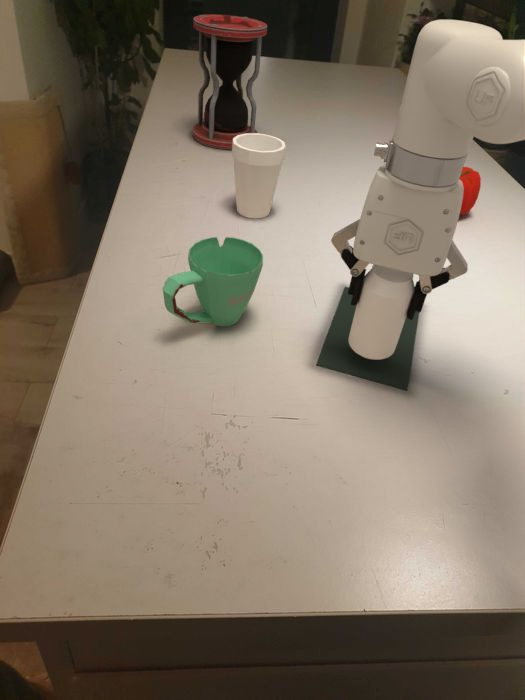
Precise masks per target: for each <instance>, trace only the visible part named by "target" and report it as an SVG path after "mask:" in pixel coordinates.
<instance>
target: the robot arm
mask: <svg viewBox="0 0 525 700" xmlns="http://www.w3.org/2000/svg"><path fill="white" fill-rule="evenodd" d="M415 41H416V42H415V45H414V49H413V53H412V57H411V61H410V65H409V69H408V74H407V78H406V81H405V86H404V89H403V93H402V98H401V102H400V106H399V110H398V113H397V117H396V121H395V126H394V130H393V135H392V140H390V139H389V140H388V142H384V143H383V142H376V145H375V148H374V152H373V156H374V157H380V159H381V160H383V163H384V164H381V165H380V166H379V167H378V169H377V170H376V172H375V174H374V177H373V179H372V181H371V183H370V185H369V189H368V191H367V195H366V197H365V200H364V204H363V207H362V211H361V213H360V218H359V219H357V220H355V221H354V222H352V223H349V224H348V225H347V226H346V225H345V227H343V228H341V229H340V230H338V231H336V232H334V233H333V235H332V236H331V239H330V241H331V244H332V245H333V247H334V248H335V249H336V251H337V252H338V253H339V255H340V258H341V259H342V261H343V262H344V263H345V266H346V267H347V268H348V269H349V273H350V275H351V278H350V282H349V285H348V286H349V287H348V288H349V290H348V294H350V295H353V297H352V301H351V305H354V306H355V305H357V302H358V298H359V294H360V290H361V287H362V283H363V279H364V276H365V275H366V274H367V269H366V268H367V267H368V266H369V264H370V265H378V266H382V267H386V268H390V269H394V270H399V271H403V272H407V273H412V274H413V275H417V276H418V281H416V283H415V284H414V286H415V292H414V295H413V298H412V301H411V304H410V307H409V310H408V313H407V318H408V319H409V320H413V317H414V314H415V311H418V312H419V313H421V312H422V310H423V307H424V304H425V302H426V298H427V296H428V294H431V293H432V291H433V290H435V289H437V288H440V287H441V286H443V285H446V284H448V283H449V282H450V281H451V280H454V279H456V278H458V277H461V276H463V275H464V274H467V272H468V269H469V267H468V266H469V265H468V262H467V261H466V259H465V257H464V256H463V254H462V253H461V251H460V250H459V248H458V246H457V245H456V243H455V242H454V236H455V233H456V229H457V225H458V223H459V222H458V221H459V218H460V215H459V214H460V210H461V205H462V200H463V192H464V187H463V183H462V181H461V180H460V179H459V178H460V175H461V172H462V169H463V167H465V163H466V160H467V157H468V155H469V151H470V148H471V145H472V143H473V140H474V138H476V139H478V140H480V141H482V142H485V143H488V144H494V145H508V144H512V143H517V142H522V141H525V39H504V38H503V36H502V34H501V33H500V31H498V30H496V29H495V28H493V27H491V26H488V25H485V24H481V23H477V22H472V21H467V20H458V19H435V20H431V21H430V22H428V23H426V24H425V25H424V26H423V27H422V28H421V30H420V32H419V33H418V35H417V38H416V40H415ZM353 238H354V241H353V246H352V245H350V242H349V241H351V239H353ZM447 260H448V262H449V265H447V266H446V267H444V266H445V264H446V261H447Z"/></svg>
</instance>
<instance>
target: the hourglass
mask: <svg viewBox="0 0 525 700" xmlns="http://www.w3.org/2000/svg"><path fill="white" fill-rule="evenodd" d="M192 20H193V22H192V23H193V24H192V26H193V27H192V28H194V29H195V30H196V31H198V33H199V34H198V35H199V36H198V61H199V66H200V67H201V70H202V71H203V78H204V79H203V83H202V86H201V87H200V88H199V91H198V97H197V100H198V101H197V103H198V105H197V107H198V108H197V124H195V125H193V127H192V138H193V139H194V140H195V141H196V142H197V143H199V144H201V145H204V146H207V147H209V148H215V149H221V150H232V143H233V138H234V137H236V136H237V135H241V134H246V133H258V134H259V131H257V130H256V117H257V103H256V100H255V98H254V96H253V89H252V88H253V85H254V82H255V80H257V78H258V76H259V74H260V67H261V55H262V43H263V42H262V41H263V40H262V39H263V37H265V36H266V35H267V34H268V25H267V23H265V22H263V21H261V20H258V19H255V18H251V17H248V16H238V15H231V14H214V13H213V14H212V13H211V14H199V15H196V16H194V17H193V19H192ZM205 36H206V39H205ZM255 40H256V46H255V58H254V59H255V60H254V70H253V73H252V75H251V76H250V78H249V79H248V80H247V83H246V86H245V91H246V92H245V93H246V98H247V99H248V101H249V103H250V107H251V112H250V124H249V108H248V105H247V102H246V101H245V99H244V90H243V87H242V78H243V77H242V76H243V74H244V73H245V72H246V70H247V69H248V68H249V66H250V65H251V63H252V60H253V55H254V41H255ZM205 56H206V59H207V61H208V64H209V66H210V70H209V69H208V67H207V65H206V62H205ZM218 77H219V78H218ZM219 79H220V80H221V82H222V83H221V85H220V80H219ZM211 80H212V94H211V95H210V97H208V99H207V101H206V103H205V106H204V94H205V91H206V90H207V88H208V87H209V85H210V81H211ZM234 82H235V85H236V87H235V86H234ZM248 124H249V125H248Z"/></svg>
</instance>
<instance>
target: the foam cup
mask: <svg viewBox="0 0 525 700" xmlns="http://www.w3.org/2000/svg"><path fill="white" fill-rule="evenodd" d="M286 148H287V146H286V143H285V141H283V140H282V139H280V138H279V137H276V136H273V135H270V134H264V133H259V132H258V133H246V134H241V135H237V136H236V137H234V138H233V143H232V149H231V154H232V157H233V173H234V174H233V175H234V187H235V201H236V202H235V203H236V212H237V213H238V214H239V215H240V216H242V217H246V218H250V219H262V218H265V217H267V216H269V215H270V211H271V209H272V205H273V200H274V196H275V193H276V189H277V185H278V181H279V177H280V173H281V170H282V166H283V161H284V160H285V156H286Z"/></svg>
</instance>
